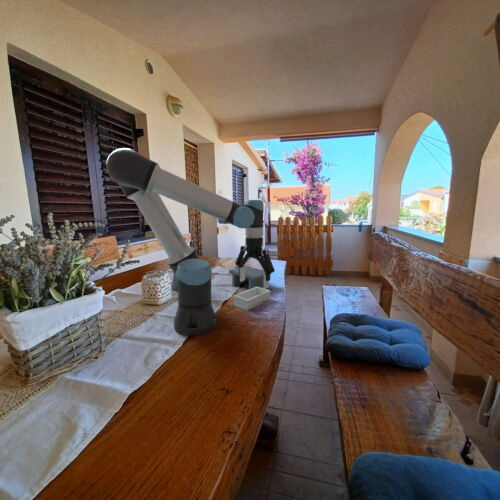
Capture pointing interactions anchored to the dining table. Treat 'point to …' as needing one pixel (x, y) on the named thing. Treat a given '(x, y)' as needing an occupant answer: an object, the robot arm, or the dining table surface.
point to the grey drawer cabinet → (248, 277)
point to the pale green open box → (251, 298)
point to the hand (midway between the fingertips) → (253, 284)
